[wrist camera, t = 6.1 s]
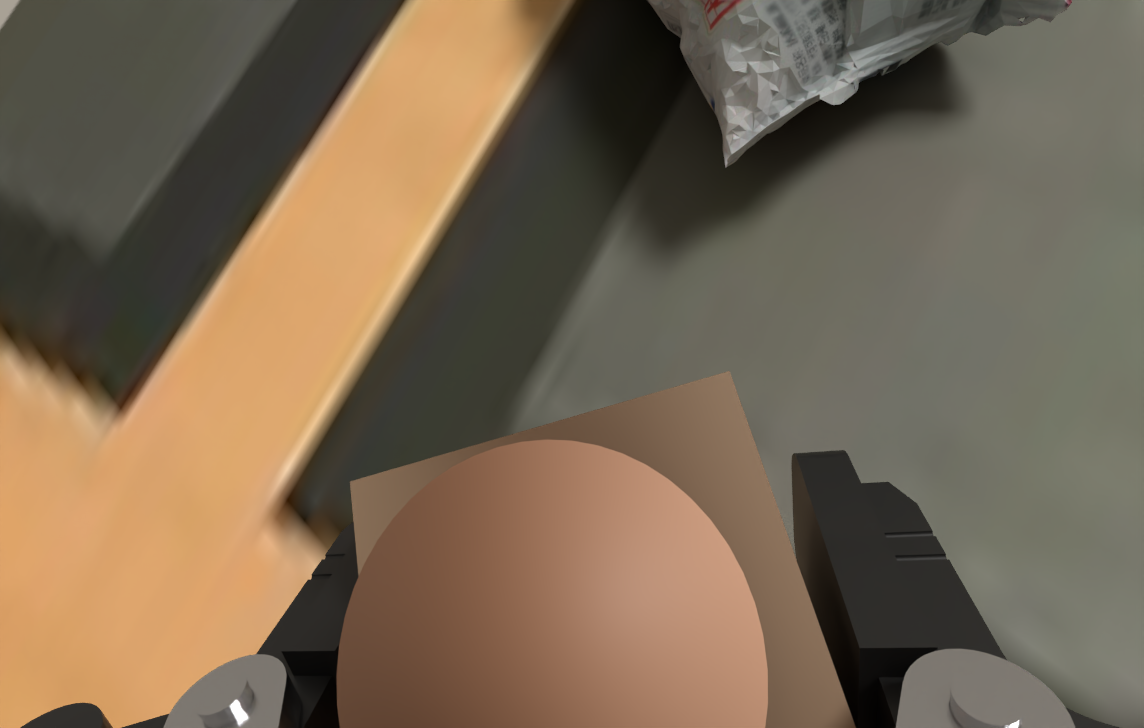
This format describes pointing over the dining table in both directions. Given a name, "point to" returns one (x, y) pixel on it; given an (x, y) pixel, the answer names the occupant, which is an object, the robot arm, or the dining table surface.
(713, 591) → the dome-topped square block
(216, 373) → the dining table surface
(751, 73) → the packaged food
